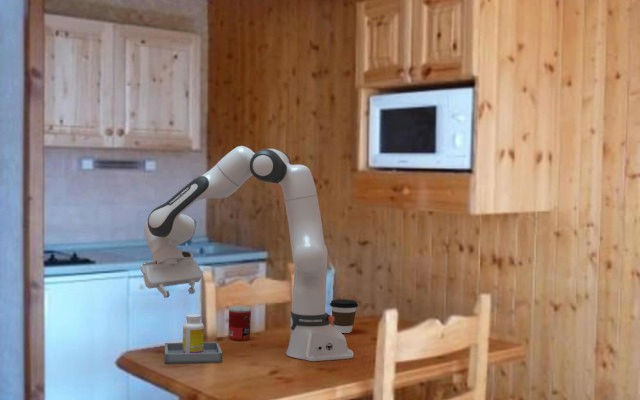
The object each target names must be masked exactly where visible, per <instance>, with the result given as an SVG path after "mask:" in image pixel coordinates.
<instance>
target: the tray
mask: <svg viewBox="0 0 640 400" xmlns="http://www.w3.org/2000/svg"><path fill="white" fill-rule="evenodd" d="M164 363H165V365H179V364H181V365H182V364H183V365H185V364H186V365H187V364H216V363H217V364H218V363H219V364H220V363H221V364H222V363H223V351H222V349H221V346H220V343H219V341H217V342H216V341H215V342H214V341H211V342H210V341H209V342H204V341H203V353H183V342H165V343H164Z"/></svg>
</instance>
